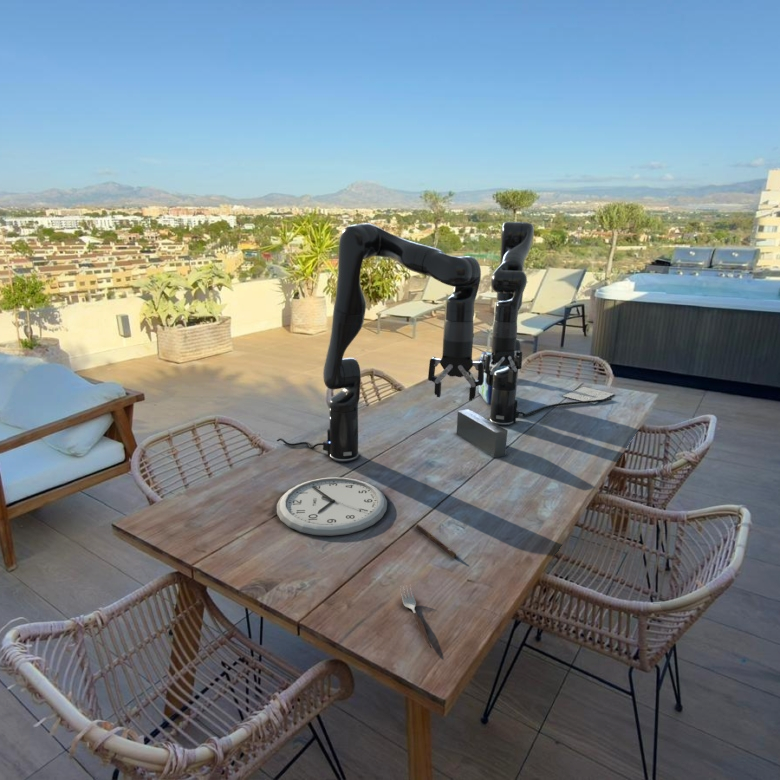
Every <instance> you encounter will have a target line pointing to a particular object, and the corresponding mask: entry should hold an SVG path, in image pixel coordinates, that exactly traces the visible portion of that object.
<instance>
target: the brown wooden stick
mask: <svg viewBox="0 0 780 780" xmlns="http://www.w3.org/2000/svg"><path fill="white" fill-rule="evenodd" d="M415 528H416V529H417V530H418V531H419V532H420V533H422V534H423V535H425V536H426V537H427V538H428V539H430V540H431V541H432V542H434V543H435V544H436V545H437V546H439V547H440V548H441V549H442V550H444V551H445V552H446V553H447V554H449V556H451V557H453V559H456V557H457V554H456V552H454V551H453V550H452V549H450V548H449V547H448V546H446V545H445V544H444V543H442V541H440V540H439V539H437V538H436V537H435V536H434V535H433V534H431V532H428V531H427V530H426V529H425V528H423V527H422V526H421V525H420V524H416V527H415Z"/></svg>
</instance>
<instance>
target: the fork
mask: <svg viewBox="0 0 780 780" xmlns="http://www.w3.org/2000/svg"><path fill="white" fill-rule="evenodd" d="M402 587H403V590H402ZM399 588H400V594H401V599H402V604H403V606H404V607H405V608H407V609H410V610H411V611H412V613H413V617H414V619H415V623H416V625H417V628H418V630H419V632H420V633H421V635H422V636H423V638H424V640H425V643H427V645H428V647H429V648H430V649H431V648H432V646H431V643H430V640H429V636H428V633H427V630H426V627H425V624H424V623H423V621H422V619H421V618H420V616H419V615H418V613H417V612H416V609H415V608H416V606H417V601H416V599H415V595H414V592H413V589H412V586H411V584H409V587H408V586H406V589H407V590H406V589H405V585H403V586H401V585H399ZM409 588H410V591H409ZM406 591H407V592H406ZM403 592H404V594H403Z"/></svg>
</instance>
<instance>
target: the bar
mask: <svg viewBox="0 0 780 780" xmlns="http://www.w3.org/2000/svg"><path fill="white" fill-rule="evenodd" d="M456 420H457V421H456V435H457V436H459V437H460V438H461V439H463V440H465V441H466V442H468V443H470V444H471V445H473V446H474V447H476V448H478V449H479V450H481V451H482V452H483V453H485V454H487V455H489V456H490V457H492V458H493V459H495V458H499V457H505V456H506V452H507V451H506V450H507V442H508V441H507V440H508V429H506V428H504V427H503V426H501V425H497V424H495V423H493V422H491V421H490V419H487V418H485V417H483V416H482V415H480V414H478V413H477V412H474V411H472V410H471V409H469V408H467V409H462V410H457V419H456Z"/></svg>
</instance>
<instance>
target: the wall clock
mask: <svg viewBox="0 0 780 780" xmlns="http://www.w3.org/2000/svg"><path fill="white" fill-rule="evenodd" d="M387 509H388V500H387V498H386V496H385V494H384V493H383V492H382V491H381V490H380V489H379V488H377V487H376V486H374V485H372V484H371V483H369V482H365V481H362V480H359V479H355V478H349V477H338V476H337V477H335V476H333V477H332V476H331V477H322V478H317V479H312V480H307V481H305V482H302V483H299V484H297V485H295V486H293V487H292V488H290V489H288V490H287V491H286V492H285V493H284V494H283V495H281V496H280V498H279V499H278V502H277V503H276V515H277V517H278V518H279V520H280V521H281V522H282V523H283V524H285V525H286V526H287V527H288V528H290V529H293V530H295V531H297V532H299V533H303V534H308V535H312V536H327V537H328V536H329V537H331V536H332V537H333V536H342V535H350V534H352V533H356V532H361V531H363V530H366V529H368V528H369V527H372V526H373V525H375V524H376V523H378V522H379V521H380V520H381V519H382V518H383V517H384V516H385V514H386V512H387Z"/></svg>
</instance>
